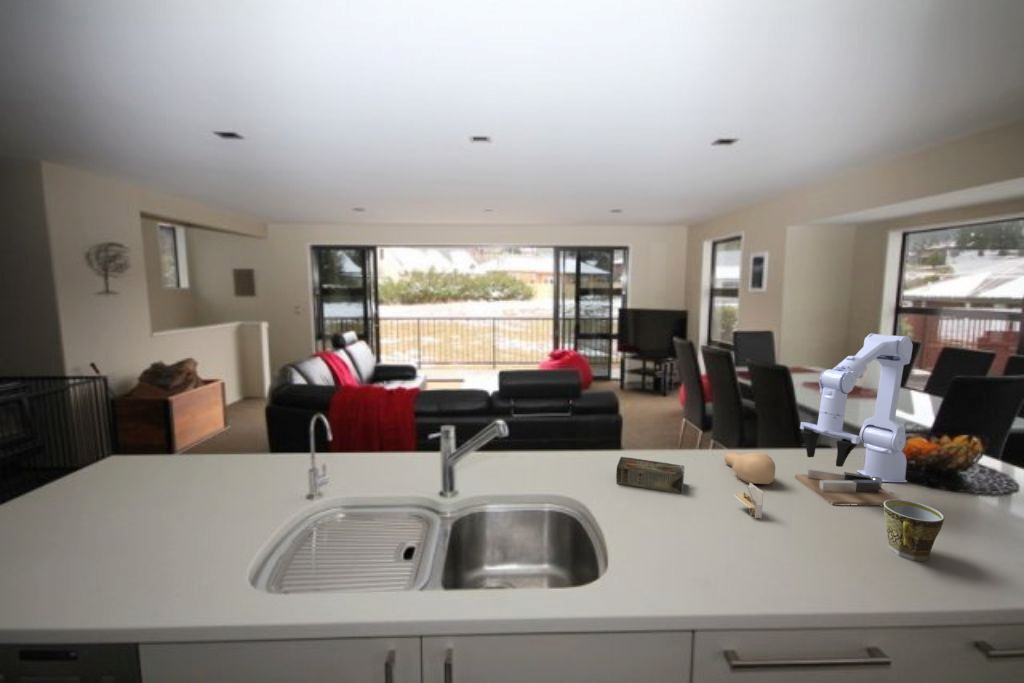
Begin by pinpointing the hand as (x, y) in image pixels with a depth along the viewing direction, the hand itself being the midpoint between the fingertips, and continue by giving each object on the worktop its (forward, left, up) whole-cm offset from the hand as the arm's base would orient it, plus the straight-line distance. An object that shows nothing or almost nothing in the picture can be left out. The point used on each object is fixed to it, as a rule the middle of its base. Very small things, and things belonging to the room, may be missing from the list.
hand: (824, 461), depth 127 cm
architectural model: (+24, +11, -11) cm, 28 cm away
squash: (+15, -14, -10) cm, 23 cm away
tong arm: (-10, -7, -9) cm, 15 cm away
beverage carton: (+46, -7, -11) cm, 48 cm away
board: (-9, -3, -10) cm, 14 cm away
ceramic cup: (-1, +29, -10) cm, 30 cm away
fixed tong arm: (-8, -1, -9) cm, 12 cm away
